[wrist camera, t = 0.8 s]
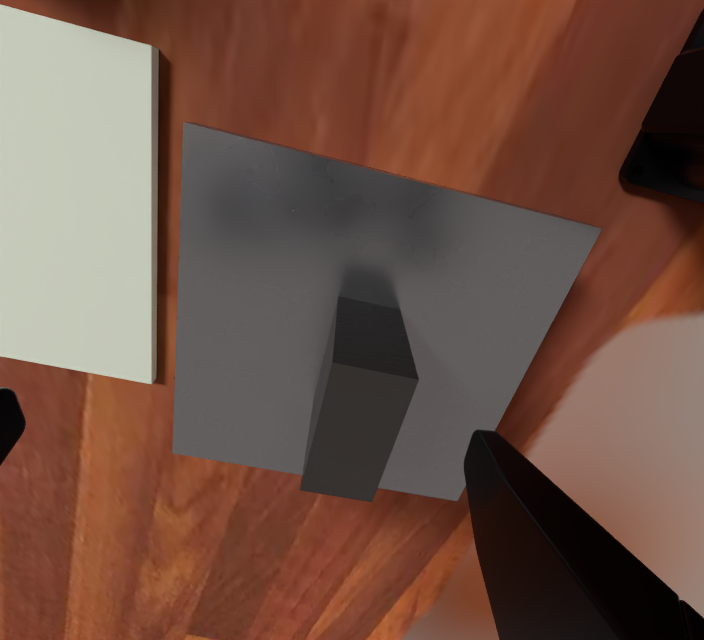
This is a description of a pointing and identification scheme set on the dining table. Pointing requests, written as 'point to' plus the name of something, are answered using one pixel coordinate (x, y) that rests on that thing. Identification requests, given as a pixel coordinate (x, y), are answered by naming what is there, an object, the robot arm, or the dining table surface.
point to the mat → (78, 197)
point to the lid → (353, 315)
